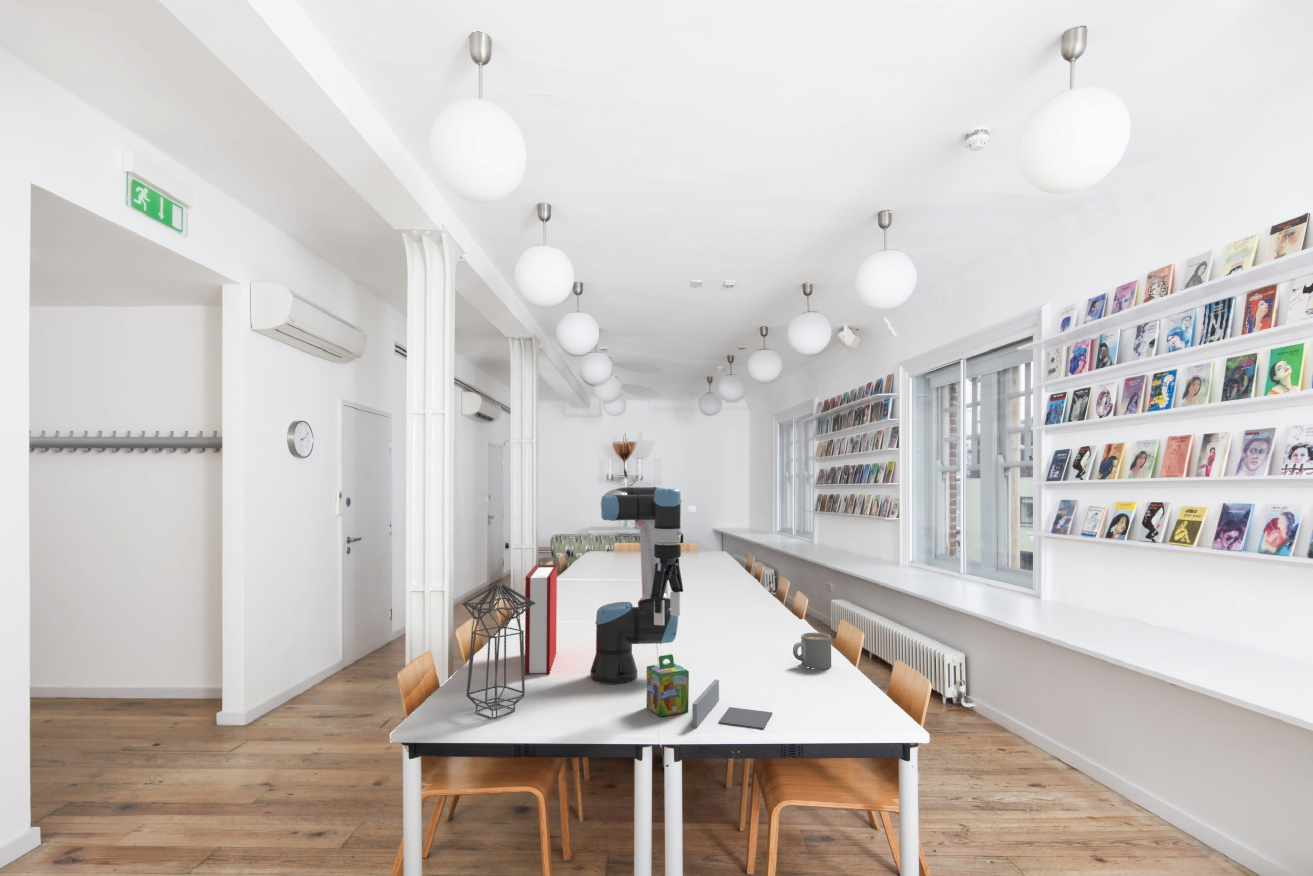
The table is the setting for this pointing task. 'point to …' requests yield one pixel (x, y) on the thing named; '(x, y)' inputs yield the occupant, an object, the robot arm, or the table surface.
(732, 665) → the table surface
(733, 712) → the mat
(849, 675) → the table surface
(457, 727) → the table surface
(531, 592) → the book
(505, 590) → the geometric lantern
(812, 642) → the coffee mug
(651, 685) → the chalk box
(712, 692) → the low wall
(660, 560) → the robot arm
